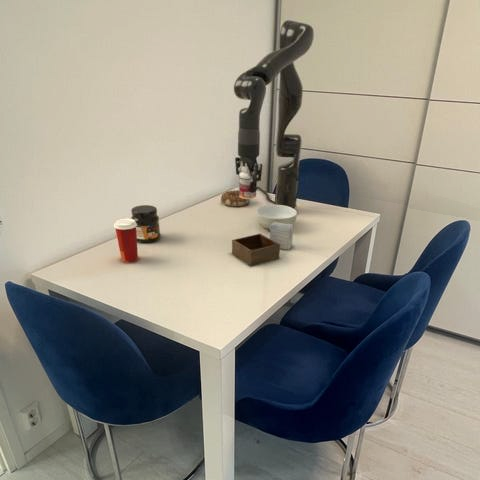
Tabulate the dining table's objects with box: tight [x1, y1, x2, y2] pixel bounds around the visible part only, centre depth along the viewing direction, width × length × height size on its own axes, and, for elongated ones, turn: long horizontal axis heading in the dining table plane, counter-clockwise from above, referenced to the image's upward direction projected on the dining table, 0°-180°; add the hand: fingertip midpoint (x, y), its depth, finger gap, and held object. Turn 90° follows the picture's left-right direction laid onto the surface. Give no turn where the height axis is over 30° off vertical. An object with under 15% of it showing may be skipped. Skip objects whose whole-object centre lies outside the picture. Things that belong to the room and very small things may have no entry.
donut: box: [220, 189, 251, 207], centre depth 218 cm, size 14×14×5 cm
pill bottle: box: [238, 166, 257, 200], centre depth 165 cm, size 6×6×11 cm
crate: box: [231, 233, 281, 267], centre depth 165 cm, size 12×12×6 cm
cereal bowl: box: [255, 204, 298, 230], centre depth 190 cm, size 17×17×7 cm
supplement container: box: [130, 204, 161, 244], centre depth 177 cm, size 10×10×12 cm
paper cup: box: [113, 218, 139, 264], centre depth 159 cm, size 8×8×14 cm
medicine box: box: [268, 222, 294, 251], centre depth 172 cm, size 8×4×9 cm, turn 65°
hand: (247, 189), depth 166 cm, fingers closed on pill bottle, 6 cm apart
